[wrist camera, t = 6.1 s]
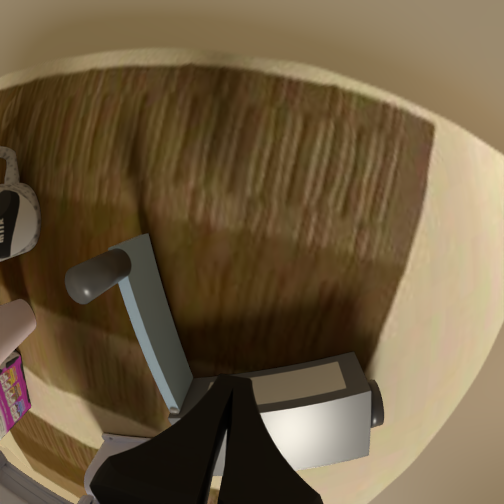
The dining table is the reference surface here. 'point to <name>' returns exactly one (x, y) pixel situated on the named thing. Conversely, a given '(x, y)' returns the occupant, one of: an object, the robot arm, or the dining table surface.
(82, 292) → the side door
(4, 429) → the candy bar box
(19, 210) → the mug
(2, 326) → the smoothie
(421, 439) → the dining table surface
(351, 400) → the camera housing
